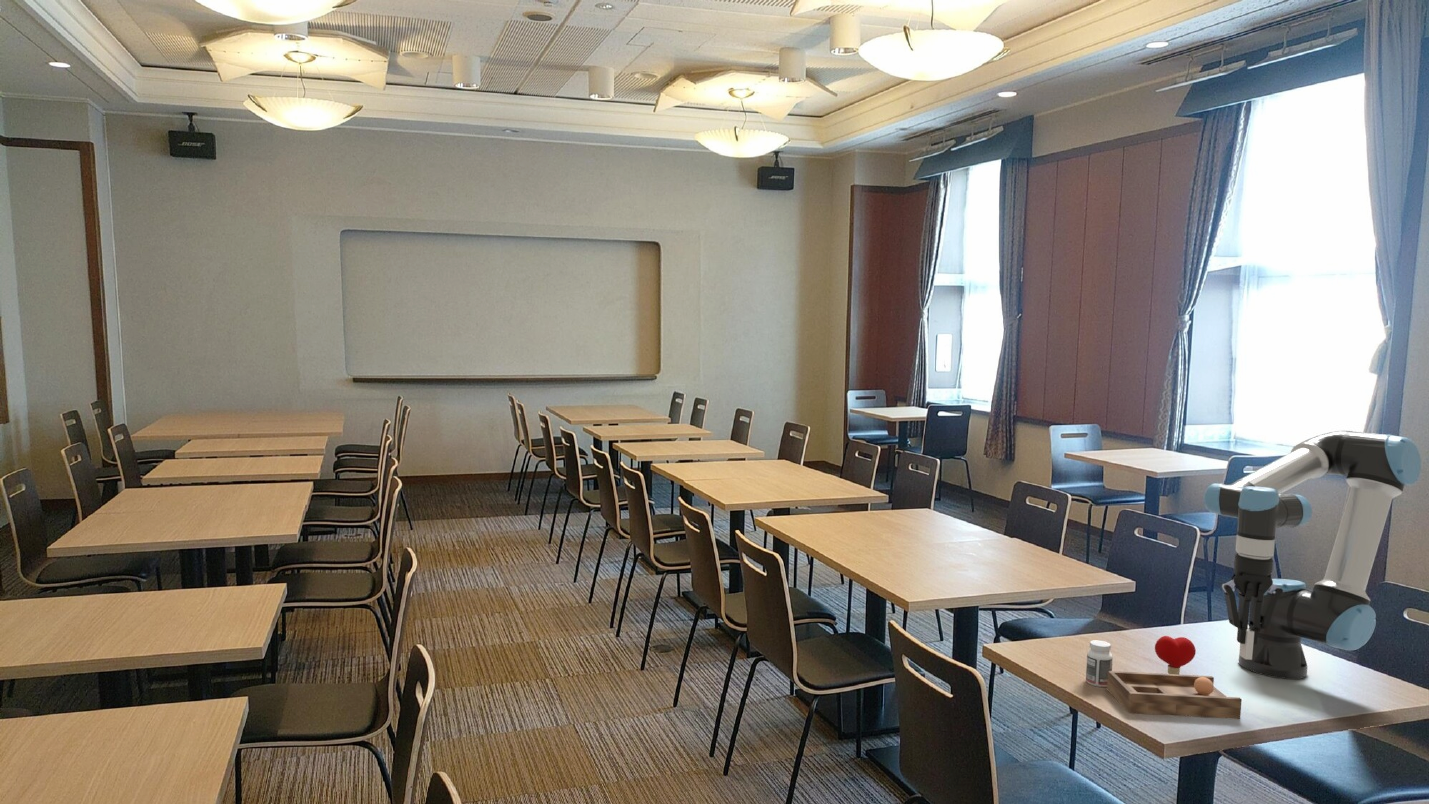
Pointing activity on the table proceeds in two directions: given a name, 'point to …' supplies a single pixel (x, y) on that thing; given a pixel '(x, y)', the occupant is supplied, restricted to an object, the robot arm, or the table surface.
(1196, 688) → the ball
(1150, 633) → the table surface
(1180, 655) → the red heart-shaped lump
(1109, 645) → the pill bottle
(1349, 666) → the table surface
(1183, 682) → the lane
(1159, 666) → the table surface
